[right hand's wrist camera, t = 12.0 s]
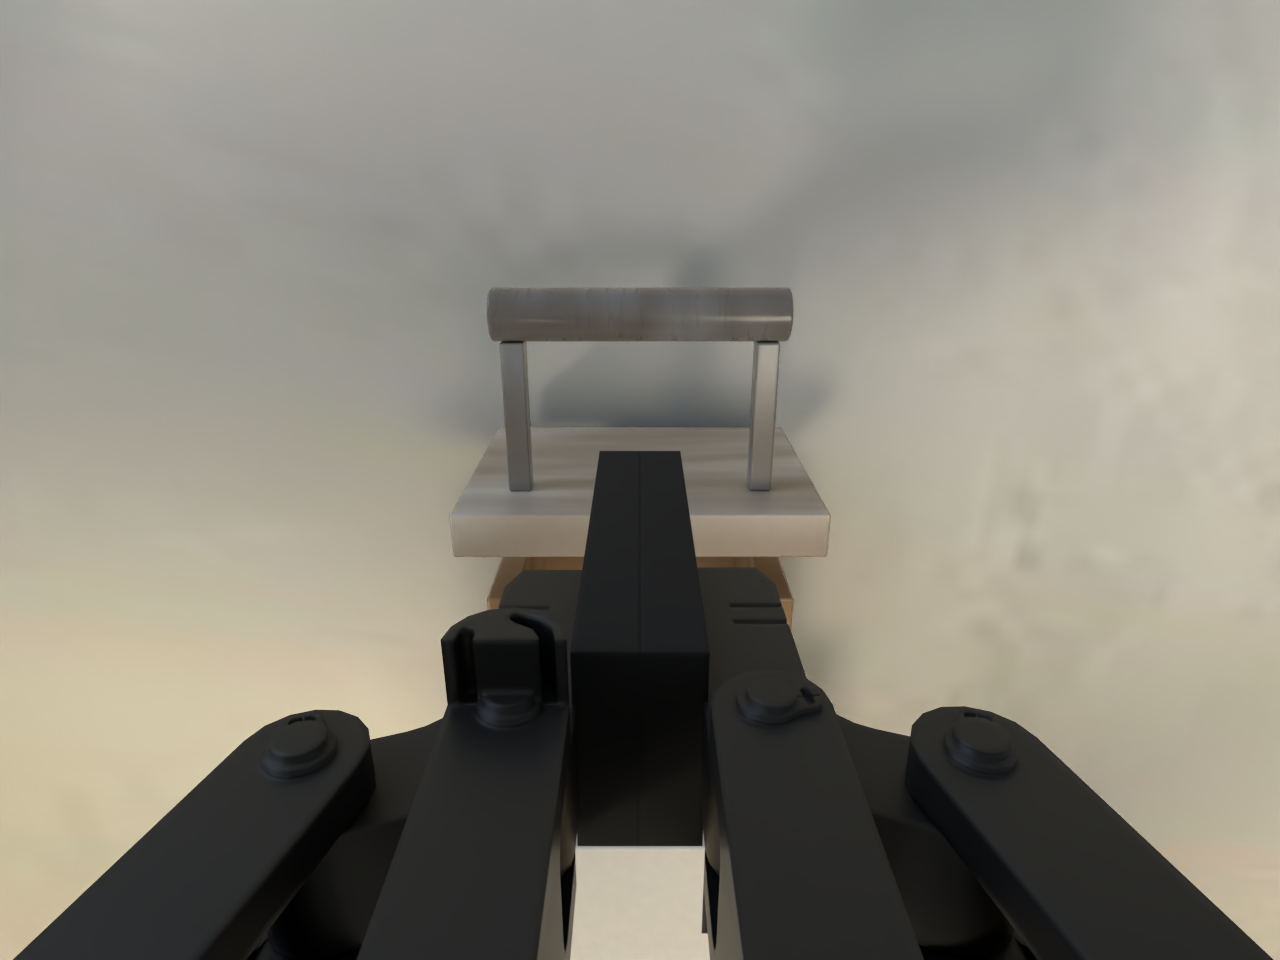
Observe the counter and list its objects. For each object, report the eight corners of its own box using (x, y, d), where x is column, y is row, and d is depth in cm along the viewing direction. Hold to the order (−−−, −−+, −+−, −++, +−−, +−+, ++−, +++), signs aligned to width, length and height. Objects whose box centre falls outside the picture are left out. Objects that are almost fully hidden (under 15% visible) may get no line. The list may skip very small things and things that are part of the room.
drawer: (487, 264, 25) (428, 299, 18) (792, 264, 25) (852, 298, 18) (525, 818, 33) (495, 989, 26) (754, 818, 33) (785, 989, 26)
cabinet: (504, 662, 31) (452, 848, 22) (776, 662, 31) (828, 848, 22) (528, 983, 38) (495, 1222, 29) (752, 983, 38) (785, 1222, 29)
